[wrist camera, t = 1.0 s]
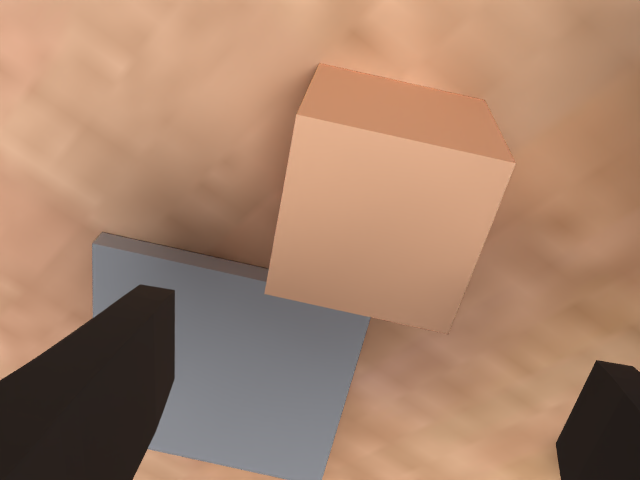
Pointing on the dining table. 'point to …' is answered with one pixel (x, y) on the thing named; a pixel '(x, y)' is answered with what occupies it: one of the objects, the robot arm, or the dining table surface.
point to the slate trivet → (240, 360)
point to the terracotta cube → (386, 198)
